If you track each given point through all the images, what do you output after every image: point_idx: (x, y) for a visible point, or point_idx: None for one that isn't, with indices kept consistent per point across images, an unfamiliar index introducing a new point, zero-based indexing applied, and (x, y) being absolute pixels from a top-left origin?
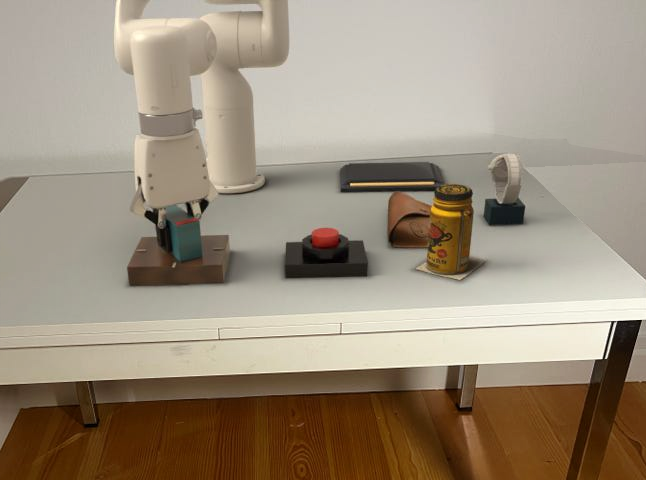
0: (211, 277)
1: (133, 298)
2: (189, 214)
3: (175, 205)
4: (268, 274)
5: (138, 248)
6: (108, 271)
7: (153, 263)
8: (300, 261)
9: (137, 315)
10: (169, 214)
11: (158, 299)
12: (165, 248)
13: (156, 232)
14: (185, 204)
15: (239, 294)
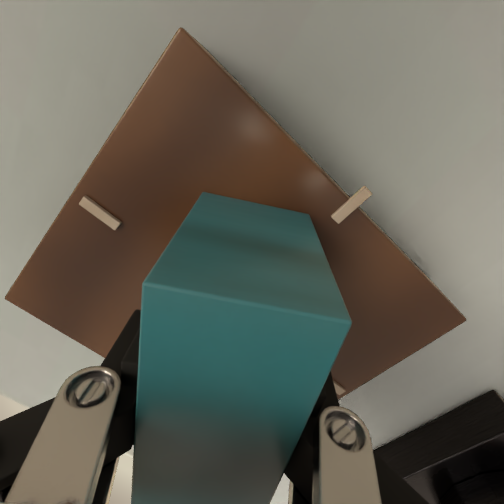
0: None
1: (40, 326)
2: (297, 457)
3: (338, 334)
4: (365, 423)
5: (100, 175)
6: (9, 101)
7: (99, 334)
8: None
9: (27, 388)
10: (183, 430)
11: (95, 365)
12: None
13: (113, 348)
14: (317, 492)
15: None
